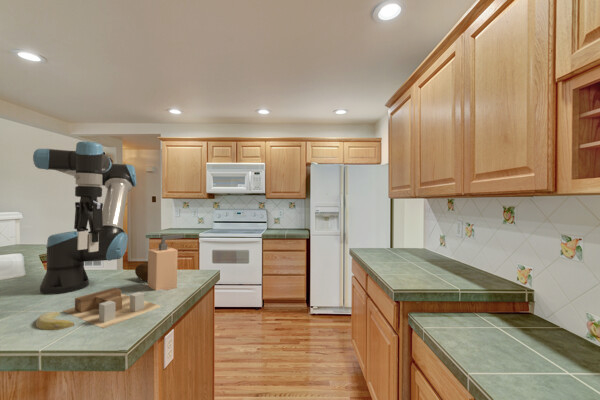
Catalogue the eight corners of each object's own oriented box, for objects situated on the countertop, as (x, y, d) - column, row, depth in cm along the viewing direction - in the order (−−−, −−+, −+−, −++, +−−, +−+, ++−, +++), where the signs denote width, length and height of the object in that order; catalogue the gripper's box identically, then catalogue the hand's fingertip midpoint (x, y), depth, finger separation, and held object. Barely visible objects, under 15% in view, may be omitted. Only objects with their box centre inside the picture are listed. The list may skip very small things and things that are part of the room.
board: (62, 313, 86) (62, 310, 86) (121, 296, 102) (121, 293, 102) (103, 331, 75) (103, 328, 75) (161, 309, 91) (161, 306, 91)
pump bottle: (155, 293, 106) (156, 238, 106) (147, 288, 112) (148, 236, 112) (186, 285, 116) (187, 235, 116) (177, 281, 122) (178, 233, 122)
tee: (74, 310, 86) (75, 298, 86) (114, 298, 97) (114, 287, 97) (94, 318, 81) (94, 305, 81) (134, 305, 92) (134, 293, 92)
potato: (153, 275, 130) (153, 257, 130) (163, 280, 122) (163, 261, 122) (133, 279, 124) (134, 260, 124) (143, 284, 116) (143, 264, 116)
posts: (98, 320, 80) (99, 303, 80) (138, 306, 90) (138, 291, 90) (104, 322, 78) (104, 305, 78) (144, 308, 89) (144, 293, 89)
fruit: (39, 340, 71) (40, 328, 71) (33, 322, 80) (33, 311, 80) (74, 330, 76) (74, 319, 76) (64, 315, 86) (64, 304, 86)
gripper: (62, 185, 96) (61, 249, 96) (91, 185, 87) (90, 255, 87) (86, 186, 102) (85, 246, 102) (116, 186, 93) (114, 251, 93)
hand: (87, 250), depth 95 cm, fingers open, 7 cm apart
